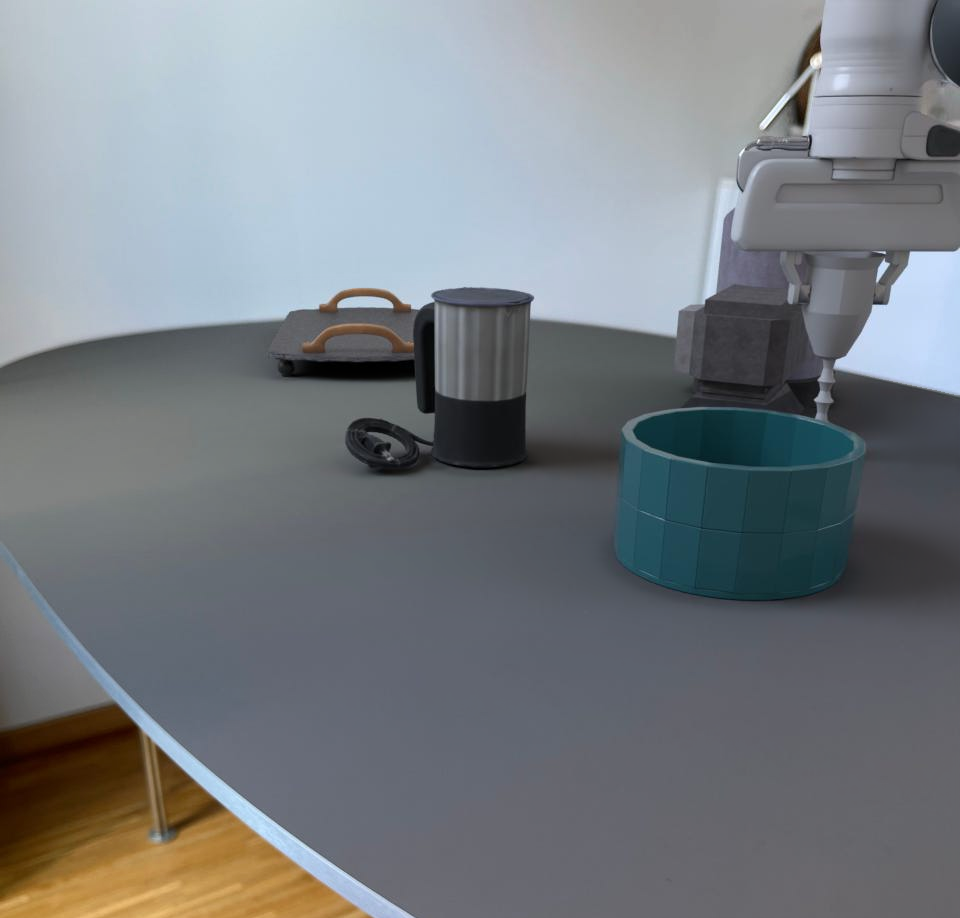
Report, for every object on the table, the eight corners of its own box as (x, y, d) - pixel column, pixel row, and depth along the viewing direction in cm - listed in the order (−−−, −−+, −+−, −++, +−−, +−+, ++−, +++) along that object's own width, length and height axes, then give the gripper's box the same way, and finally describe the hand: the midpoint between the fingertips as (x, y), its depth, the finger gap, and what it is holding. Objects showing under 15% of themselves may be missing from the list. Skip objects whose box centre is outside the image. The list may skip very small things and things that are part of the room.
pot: (807, 518, 86) (824, 408, 82) (877, 601, 71) (902, 471, 67) (602, 516, 86) (610, 405, 82) (629, 599, 71) (640, 468, 67)
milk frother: (547, 453, 102) (553, 292, 96) (451, 494, 91) (451, 314, 84) (428, 430, 110) (427, 279, 103) (325, 466, 98) (316, 298, 91)
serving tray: (291, 326, 163) (288, 284, 161) (442, 326, 165) (442, 284, 162) (262, 382, 129) (258, 329, 126) (454, 381, 130) (454, 329, 128)
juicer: (713, 371, 137) (736, 163, 127) (842, 384, 131) (877, 167, 121) (645, 424, 113) (666, 171, 102) (799, 443, 107) (839, 177, 96)
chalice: (763, 449, 103) (786, 252, 96) (805, 437, 107) (830, 247, 100) (829, 465, 98) (859, 259, 91) (870, 452, 102) (902, 254, 95)
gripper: (748, 136, 88) (731, 309, 94) (995, 136, 88) (962, 309, 94) (731, 135, 94) (716, 298, 100) (964, 135, 94) (934, 299, 100)
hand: (837, 304), depth 97 cm, fingers closed on chalice, 6 cm apart
